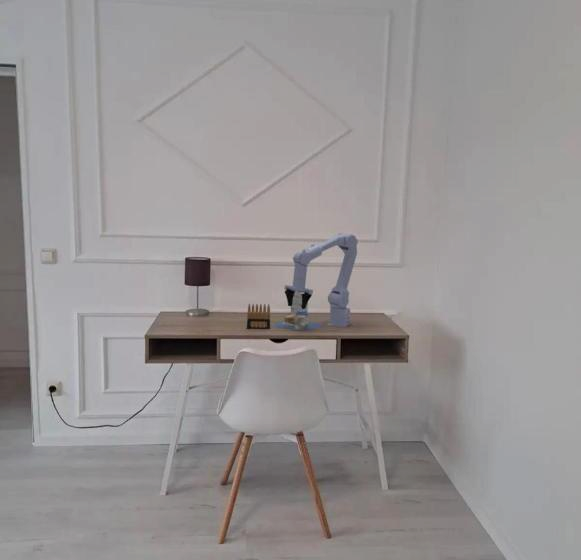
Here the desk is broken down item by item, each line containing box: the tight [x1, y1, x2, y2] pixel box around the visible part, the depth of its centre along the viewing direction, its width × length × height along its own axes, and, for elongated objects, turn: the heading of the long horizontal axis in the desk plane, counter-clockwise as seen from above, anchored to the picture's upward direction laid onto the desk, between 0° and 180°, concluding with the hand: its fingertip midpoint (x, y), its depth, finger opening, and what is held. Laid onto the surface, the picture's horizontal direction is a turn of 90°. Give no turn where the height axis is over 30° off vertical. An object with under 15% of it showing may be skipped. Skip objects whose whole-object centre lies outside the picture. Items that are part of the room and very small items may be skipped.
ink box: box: [290, 290, 309, 317], centre depth 269 cm, size 8×5×15 cm, turn 39°
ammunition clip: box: [246, 303, 271, 330], centre depth 236 cm, size 11×2×12 cm, turn 91°
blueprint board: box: [270, 319, 325, 332], centre depth 246 cm, size 20×18×1 cm
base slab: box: [283, 314, 308, 325], centre depth 251 cm, size 8×8×3 cm
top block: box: [295, 317, 309, 331], centre depth 238 cm, size 4×4×5 cm
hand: (296, 307), depth 238 cm, fingers open, 7 cm apart
